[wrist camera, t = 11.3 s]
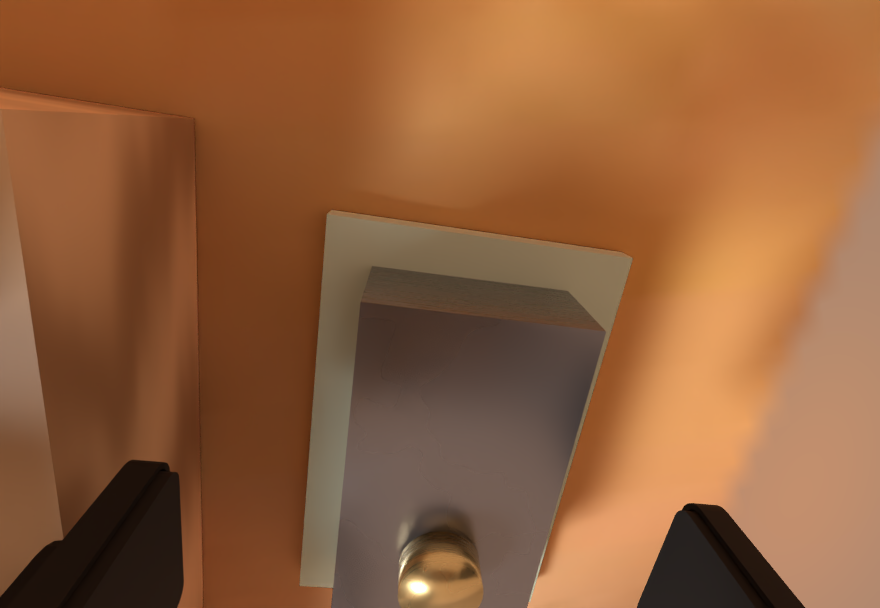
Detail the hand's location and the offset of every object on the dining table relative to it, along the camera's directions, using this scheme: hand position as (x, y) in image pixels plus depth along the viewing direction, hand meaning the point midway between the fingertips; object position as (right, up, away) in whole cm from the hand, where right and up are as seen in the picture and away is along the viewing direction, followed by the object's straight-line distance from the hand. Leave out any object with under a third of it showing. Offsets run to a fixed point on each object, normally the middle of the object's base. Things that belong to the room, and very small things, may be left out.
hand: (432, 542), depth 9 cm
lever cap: (0, +1, +4) cm, 4 cm away
